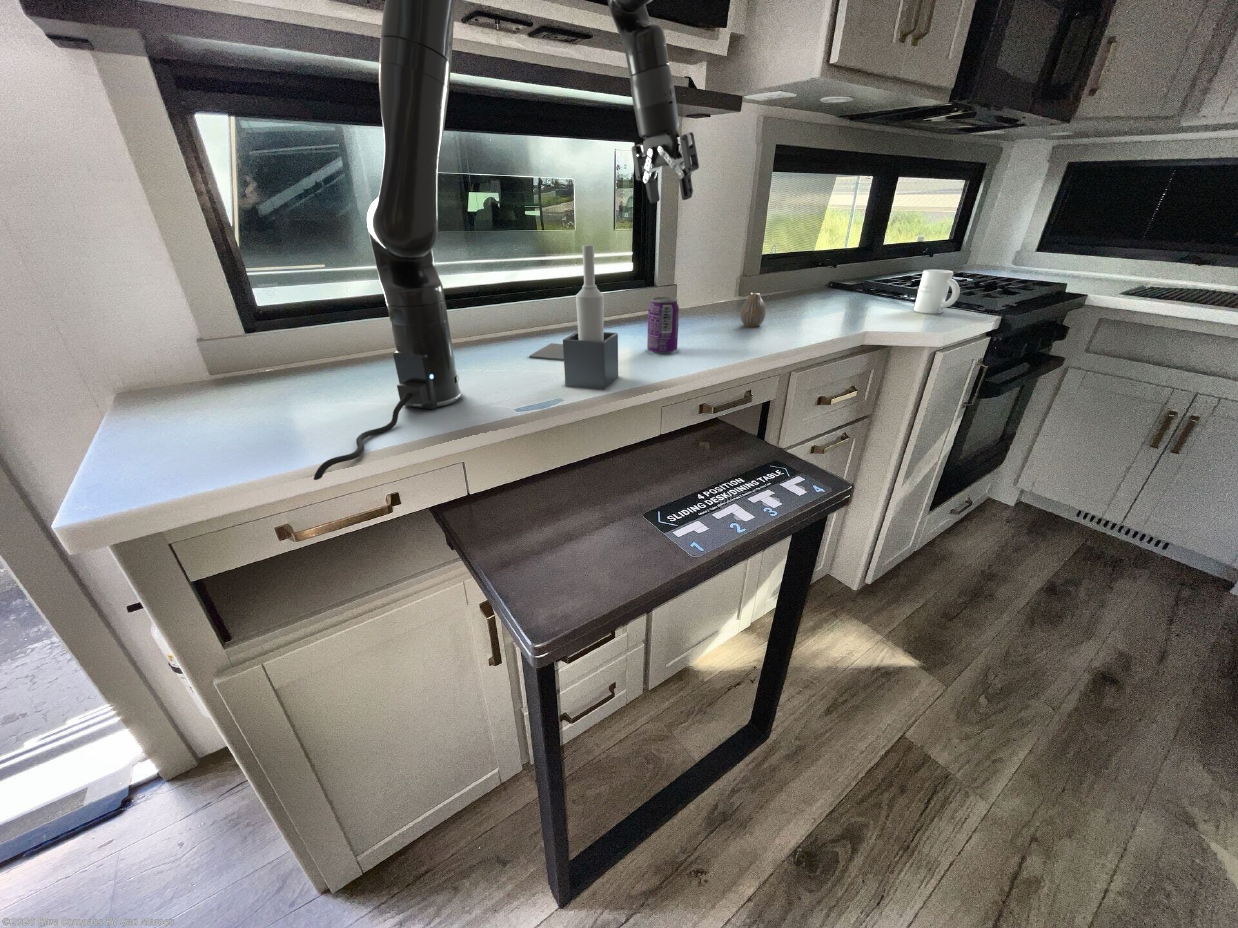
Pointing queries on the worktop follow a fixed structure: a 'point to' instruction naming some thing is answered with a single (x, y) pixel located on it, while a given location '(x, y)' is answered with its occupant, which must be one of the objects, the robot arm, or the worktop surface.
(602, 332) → the bottle
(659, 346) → the beverage can
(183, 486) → the worktop surface
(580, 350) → the caddy
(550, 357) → the coaster
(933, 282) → the mug
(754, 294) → the vase
